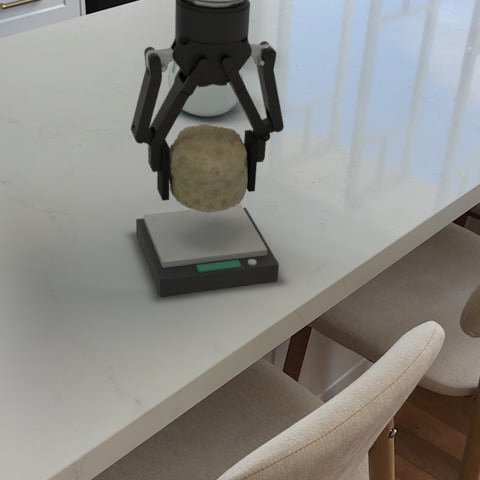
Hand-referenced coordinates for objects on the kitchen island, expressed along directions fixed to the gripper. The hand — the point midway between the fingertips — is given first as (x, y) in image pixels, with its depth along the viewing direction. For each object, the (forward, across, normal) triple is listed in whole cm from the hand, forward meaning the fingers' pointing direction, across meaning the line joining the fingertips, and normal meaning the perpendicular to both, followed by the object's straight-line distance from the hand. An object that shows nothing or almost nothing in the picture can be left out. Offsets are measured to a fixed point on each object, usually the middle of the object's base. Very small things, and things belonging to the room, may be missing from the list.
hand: (206, 190), depth 102 cm
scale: (+9, 0, -1) cm, 9 cm away
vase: (+9, +11, +40) cm, 43 cm away
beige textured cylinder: (0, 0, 0) cm, 0 cm away
